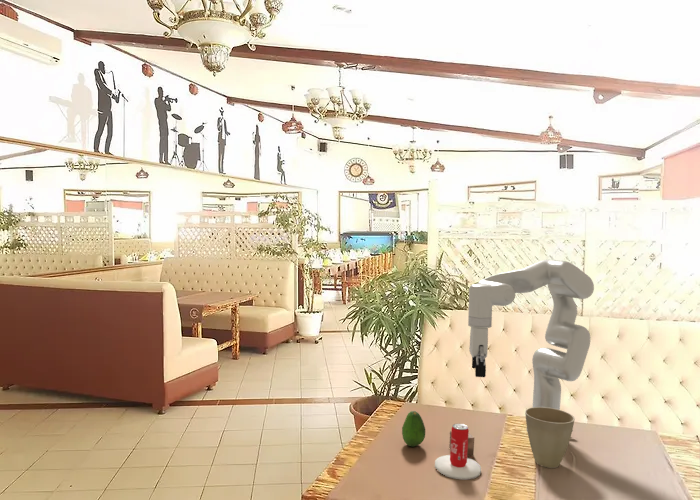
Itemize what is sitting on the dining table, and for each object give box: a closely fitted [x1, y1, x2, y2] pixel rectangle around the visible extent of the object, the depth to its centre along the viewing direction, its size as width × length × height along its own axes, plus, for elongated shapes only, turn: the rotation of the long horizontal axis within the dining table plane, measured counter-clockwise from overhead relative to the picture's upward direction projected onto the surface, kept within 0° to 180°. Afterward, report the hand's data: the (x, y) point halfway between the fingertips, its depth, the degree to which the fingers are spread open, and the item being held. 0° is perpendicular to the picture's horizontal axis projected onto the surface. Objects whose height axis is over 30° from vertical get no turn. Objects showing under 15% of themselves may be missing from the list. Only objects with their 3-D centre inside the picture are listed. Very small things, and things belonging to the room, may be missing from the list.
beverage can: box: [449, 423, 470, 468], centre depth 165 cm, size 5×5×12 cm
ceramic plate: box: [434, 454, 482, 481], centre depth 165 cm, size 14×14×1 cm
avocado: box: [401, 410, 426, 447], centre depth 181 cm, size 8×8×12 cm
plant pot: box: [524, 406, 576, 469], centre depth 172 cm, size 15×15×16 cm
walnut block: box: [448, 431, 475, 457], centre depth 178 cm, size 6×6×6 cm
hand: (478, 372), depth 177 cm, fingers open, 9 cm apart
